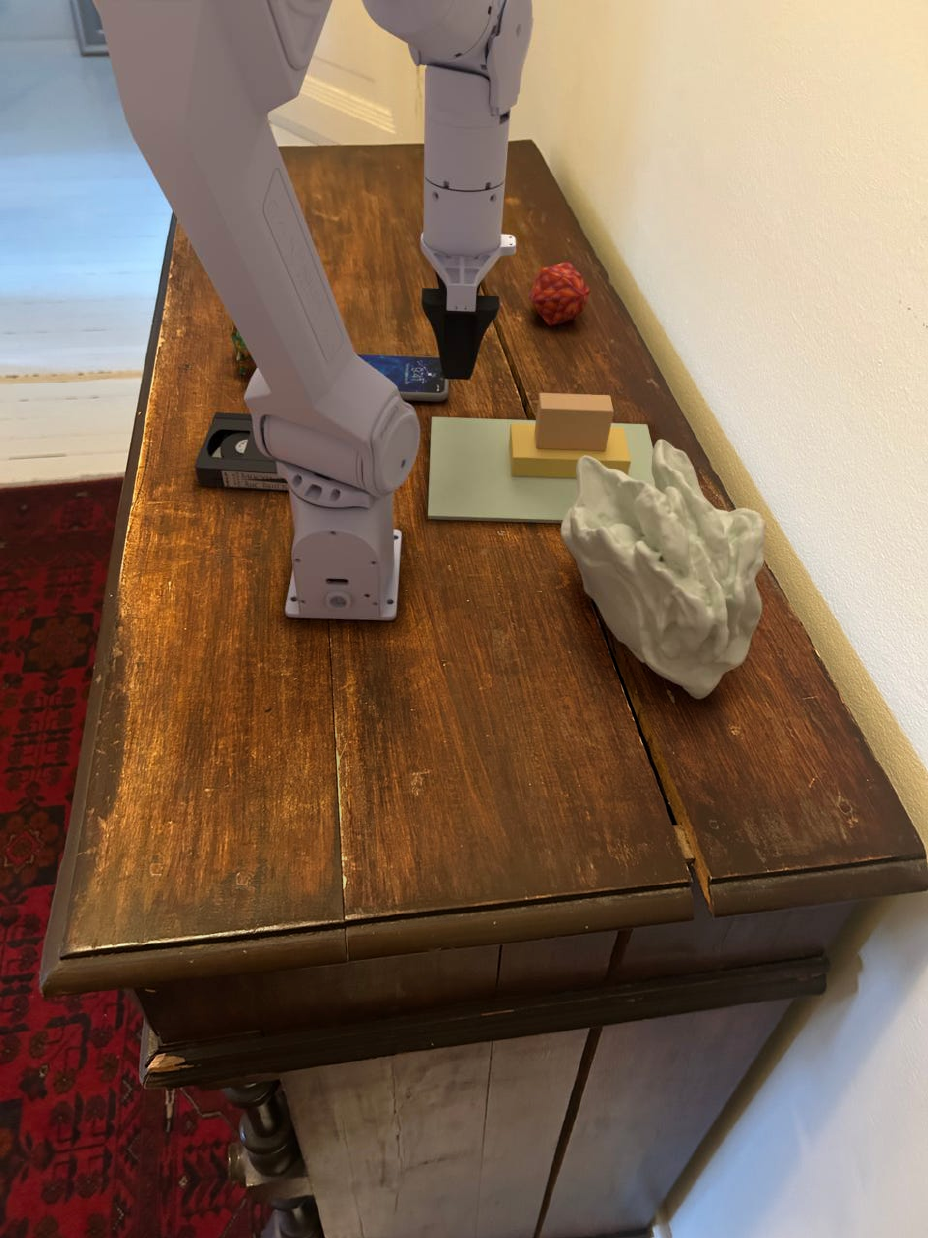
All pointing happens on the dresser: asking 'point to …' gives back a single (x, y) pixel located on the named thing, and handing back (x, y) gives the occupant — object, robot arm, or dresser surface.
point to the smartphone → (412, 375)
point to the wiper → (567, 437)
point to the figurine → (239, 347)
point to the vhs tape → (235, 457)
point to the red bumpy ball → (559, 293)
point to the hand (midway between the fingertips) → (457, 351)
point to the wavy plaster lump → (668, 567)
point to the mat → (505, 473)
